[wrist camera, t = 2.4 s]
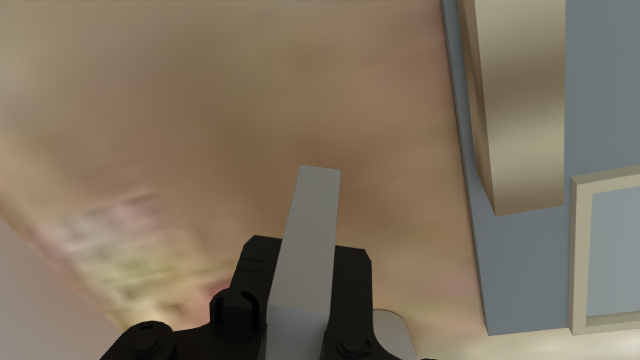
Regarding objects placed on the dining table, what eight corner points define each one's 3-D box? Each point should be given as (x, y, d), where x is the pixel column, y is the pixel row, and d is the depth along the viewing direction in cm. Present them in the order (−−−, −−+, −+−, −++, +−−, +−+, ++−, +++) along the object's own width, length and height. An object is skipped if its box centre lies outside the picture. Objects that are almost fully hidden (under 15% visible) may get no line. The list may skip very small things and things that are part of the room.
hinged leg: (441, -131, 16) (474, -141, 12) (523, -160, 16) (594, -184, 11) (476, 171, 24) (506, 242, 19) (534, 160, 23) (580, 230, 18)
